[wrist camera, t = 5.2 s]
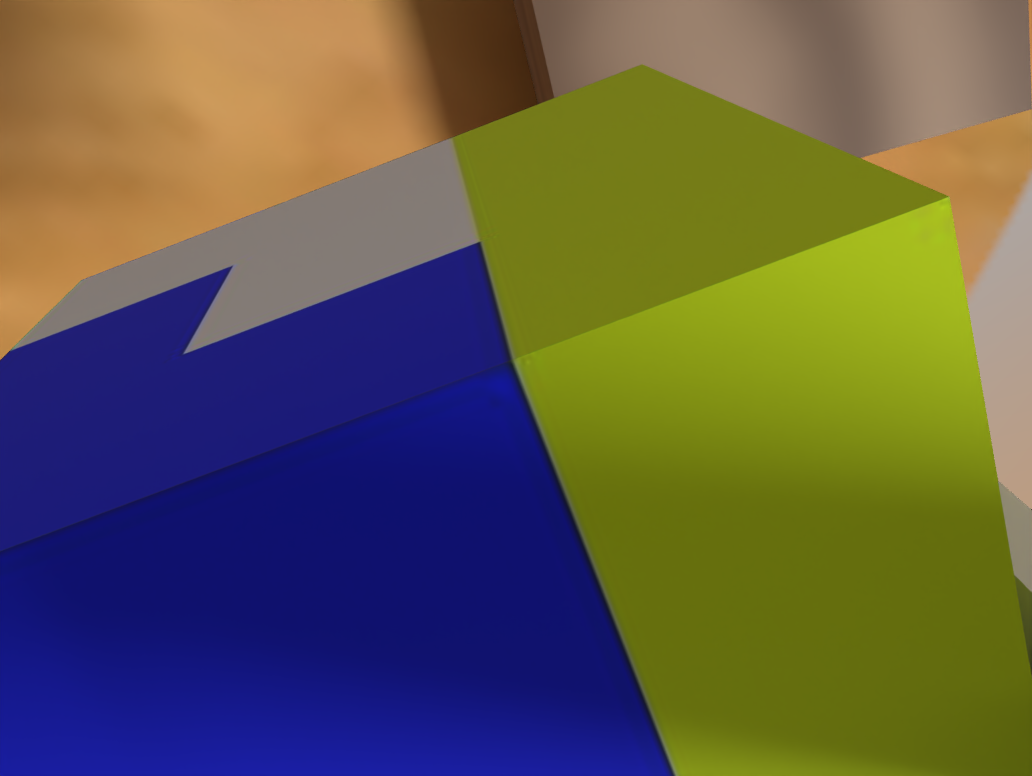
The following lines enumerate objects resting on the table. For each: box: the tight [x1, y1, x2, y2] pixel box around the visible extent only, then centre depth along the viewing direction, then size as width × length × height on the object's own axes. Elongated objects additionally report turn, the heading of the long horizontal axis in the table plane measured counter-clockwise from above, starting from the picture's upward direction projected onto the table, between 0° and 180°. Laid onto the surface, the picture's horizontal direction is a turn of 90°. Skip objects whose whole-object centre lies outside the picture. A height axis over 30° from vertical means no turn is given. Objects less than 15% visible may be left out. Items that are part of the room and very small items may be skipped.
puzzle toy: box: [0, 64, 1032, 776], centre depth 14 cm, size 10×10×10 cm
